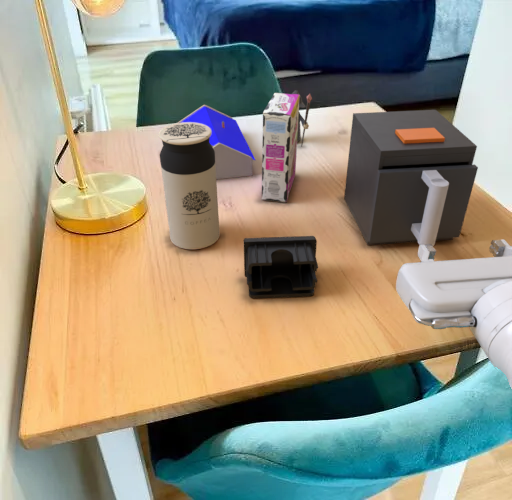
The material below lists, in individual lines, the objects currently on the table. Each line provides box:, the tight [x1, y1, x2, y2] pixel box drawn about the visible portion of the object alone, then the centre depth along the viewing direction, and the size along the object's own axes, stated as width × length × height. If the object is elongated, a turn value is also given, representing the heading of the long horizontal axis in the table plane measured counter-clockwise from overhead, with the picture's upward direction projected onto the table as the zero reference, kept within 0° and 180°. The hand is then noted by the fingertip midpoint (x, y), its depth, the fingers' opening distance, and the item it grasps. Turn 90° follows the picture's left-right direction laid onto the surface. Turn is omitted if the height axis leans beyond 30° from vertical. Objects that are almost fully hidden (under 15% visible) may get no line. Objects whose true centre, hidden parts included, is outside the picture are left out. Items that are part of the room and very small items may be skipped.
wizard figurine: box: [291, 89, 313, 147], centre depth 110 cm, size 8×6×12 cm
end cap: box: [243, 235, 319, 299], centre depth 70 cm, size 10×7×7 cm
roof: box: [177, 104, 256, 180], centre depth 105 cm, size 22×14×7 cm, turn 12°
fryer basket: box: [368, 164, 479, 247], centre depth 79 cm, size 20×14×12 cm
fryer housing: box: [343, 109, 478, 246], centre depth 82 cm, size 15×14×17 cm
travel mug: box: [158, 122, 221, 250], centre depth 77 cm, size 8×8×18 cm
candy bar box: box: [261, 92, 301, 203], centre depth 91 cm, size 11×5×16 cm, turn 168°
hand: (459, 246), depth 64 cm, fingers open, 8 cm apart
